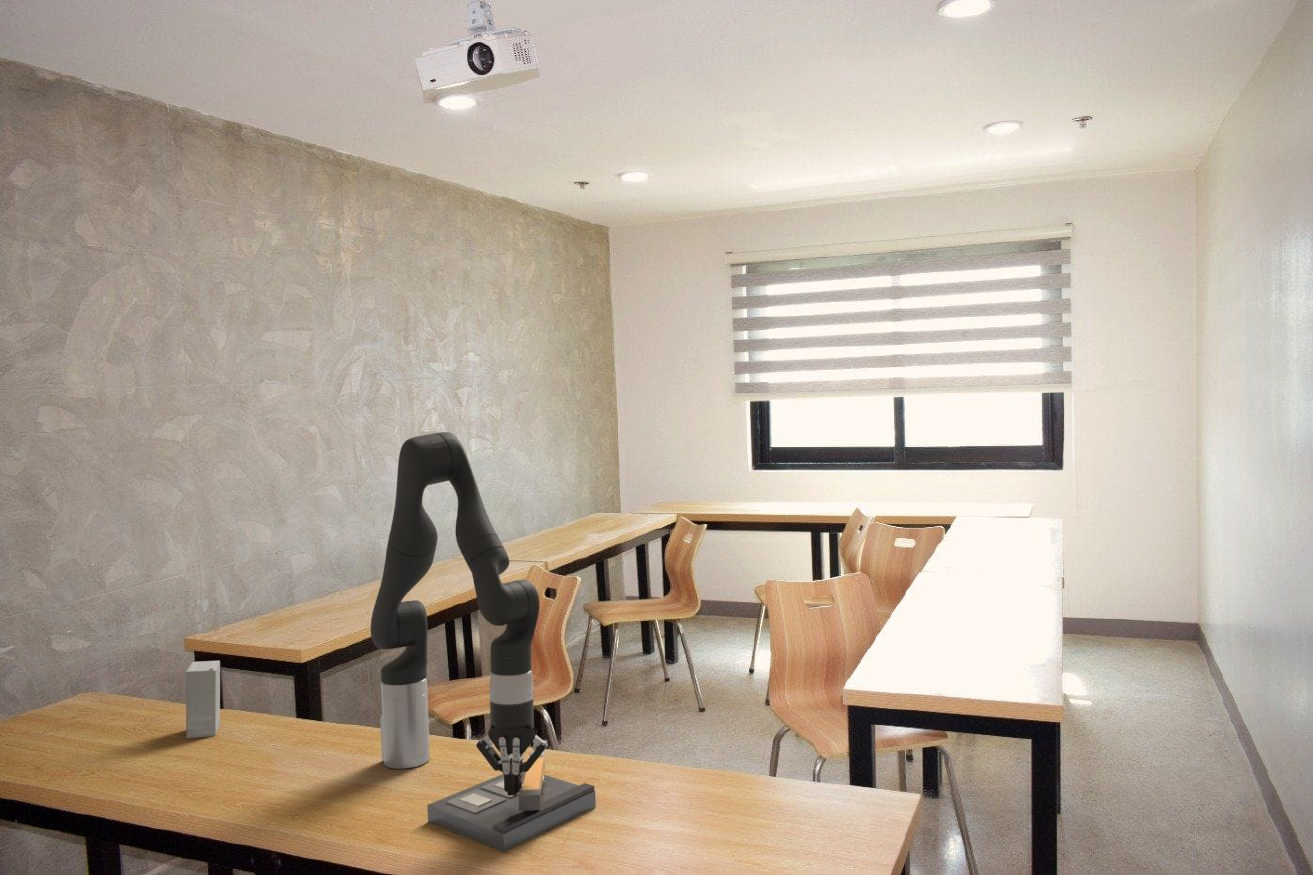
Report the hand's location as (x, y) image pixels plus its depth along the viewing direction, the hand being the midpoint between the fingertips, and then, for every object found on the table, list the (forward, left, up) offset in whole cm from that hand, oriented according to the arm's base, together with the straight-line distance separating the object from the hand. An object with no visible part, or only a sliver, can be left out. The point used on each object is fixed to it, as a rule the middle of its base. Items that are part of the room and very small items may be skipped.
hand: (513, 793), depth 170 cm
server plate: (-3, +2, -5) cm, 6 cm away
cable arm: (-1, +6, -1) cm, 6 cm away
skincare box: (-96, -9, -5) cm, 96 cm away
